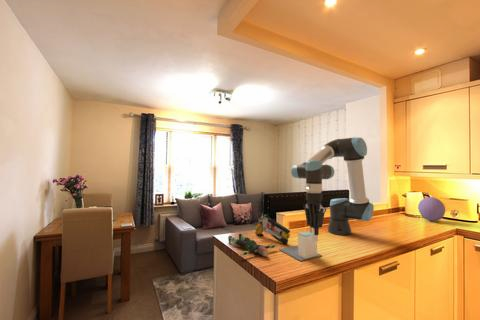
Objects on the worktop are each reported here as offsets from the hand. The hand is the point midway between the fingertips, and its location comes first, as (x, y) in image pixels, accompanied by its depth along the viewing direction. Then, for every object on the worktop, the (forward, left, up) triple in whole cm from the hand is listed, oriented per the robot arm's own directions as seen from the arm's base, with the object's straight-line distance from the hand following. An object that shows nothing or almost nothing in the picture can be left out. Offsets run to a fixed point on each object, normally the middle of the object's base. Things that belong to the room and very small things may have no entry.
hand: (314, 241), depth 110 cm
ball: (-145, -15, -10) cm, 146 cm away
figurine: (+21, -28, -10) cm, 36 cm away
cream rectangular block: (0, -5, -9) cm, 10 cm away
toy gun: (+1, -36, -10) cm, 38 cm away
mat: (0, -11, -9) cm, 14 cm away
